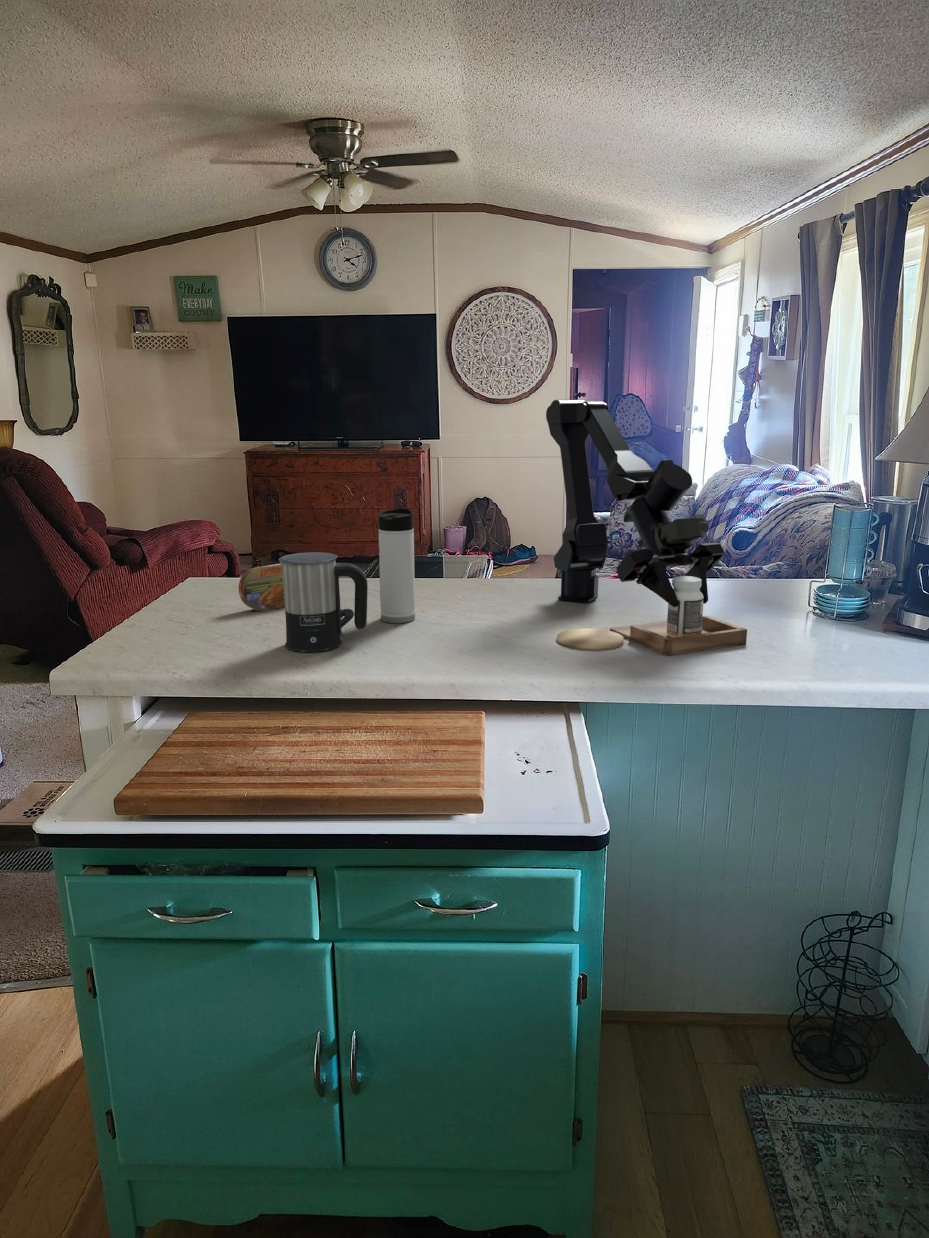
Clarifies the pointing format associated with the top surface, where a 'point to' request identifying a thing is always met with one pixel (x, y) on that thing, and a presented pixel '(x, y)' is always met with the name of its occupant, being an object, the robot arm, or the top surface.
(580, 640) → the cork mat
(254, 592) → the tin
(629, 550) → the robot arm
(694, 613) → the pill bottle
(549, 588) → the top surface
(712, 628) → the tray
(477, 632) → the top surface
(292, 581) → the milk frother
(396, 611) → the travel mug
